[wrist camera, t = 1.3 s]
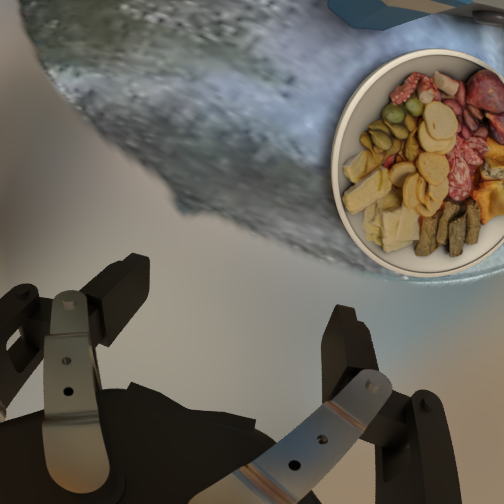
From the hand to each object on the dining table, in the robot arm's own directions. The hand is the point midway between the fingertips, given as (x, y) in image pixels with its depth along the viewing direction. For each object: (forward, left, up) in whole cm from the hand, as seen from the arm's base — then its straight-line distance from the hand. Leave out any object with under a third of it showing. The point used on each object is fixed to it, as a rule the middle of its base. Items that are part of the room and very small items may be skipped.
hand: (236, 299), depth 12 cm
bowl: (+6, +20, -27) cm, 34 cm away
